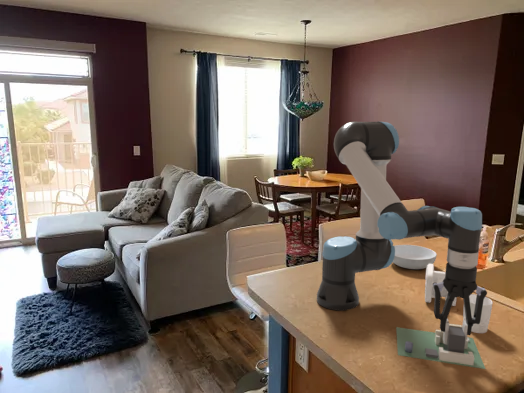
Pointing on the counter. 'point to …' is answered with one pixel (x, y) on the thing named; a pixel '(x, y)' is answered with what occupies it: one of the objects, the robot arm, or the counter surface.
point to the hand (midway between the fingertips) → (454, 343)
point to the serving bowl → (413, 256)
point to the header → (453, 356)
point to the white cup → (484, 316)
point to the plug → (455, 339)
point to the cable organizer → (430, 279)
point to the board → (429, 346)
